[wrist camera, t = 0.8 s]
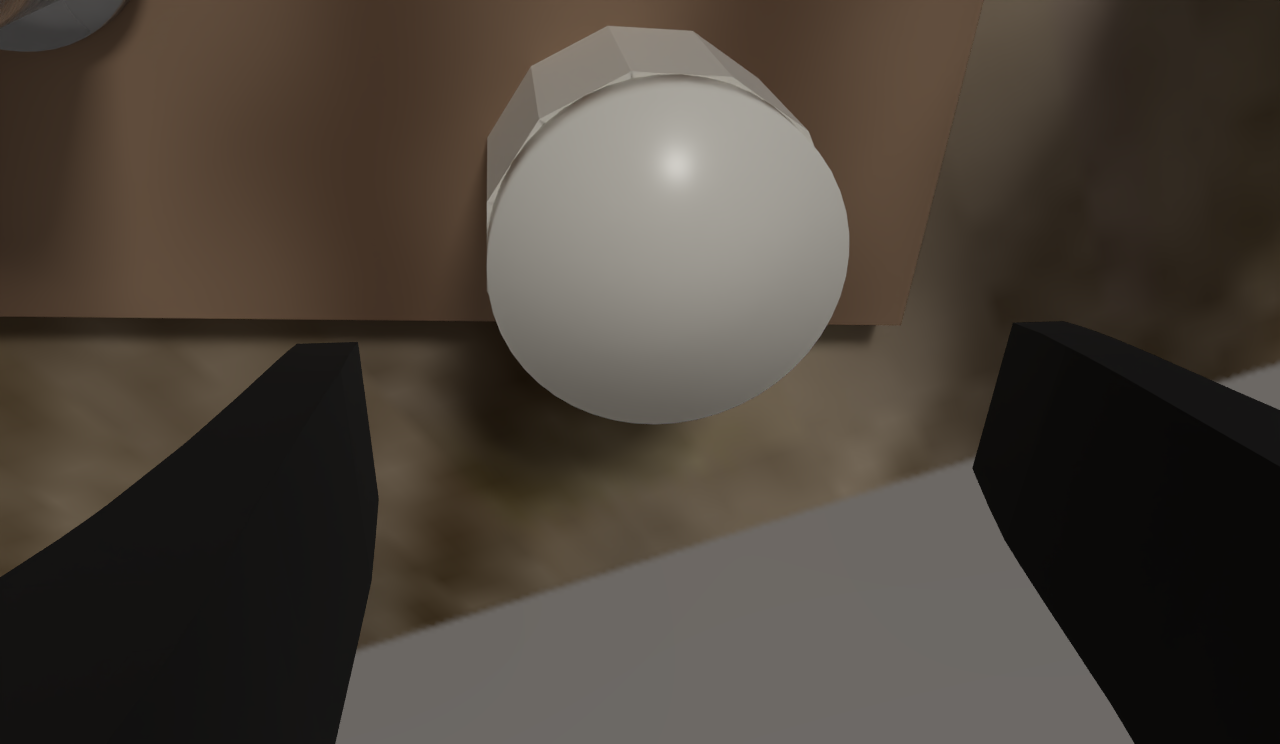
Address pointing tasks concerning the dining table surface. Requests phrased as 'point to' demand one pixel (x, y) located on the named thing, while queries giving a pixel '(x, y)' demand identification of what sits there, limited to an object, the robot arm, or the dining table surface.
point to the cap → (658, 228)
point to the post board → (395, 143)
